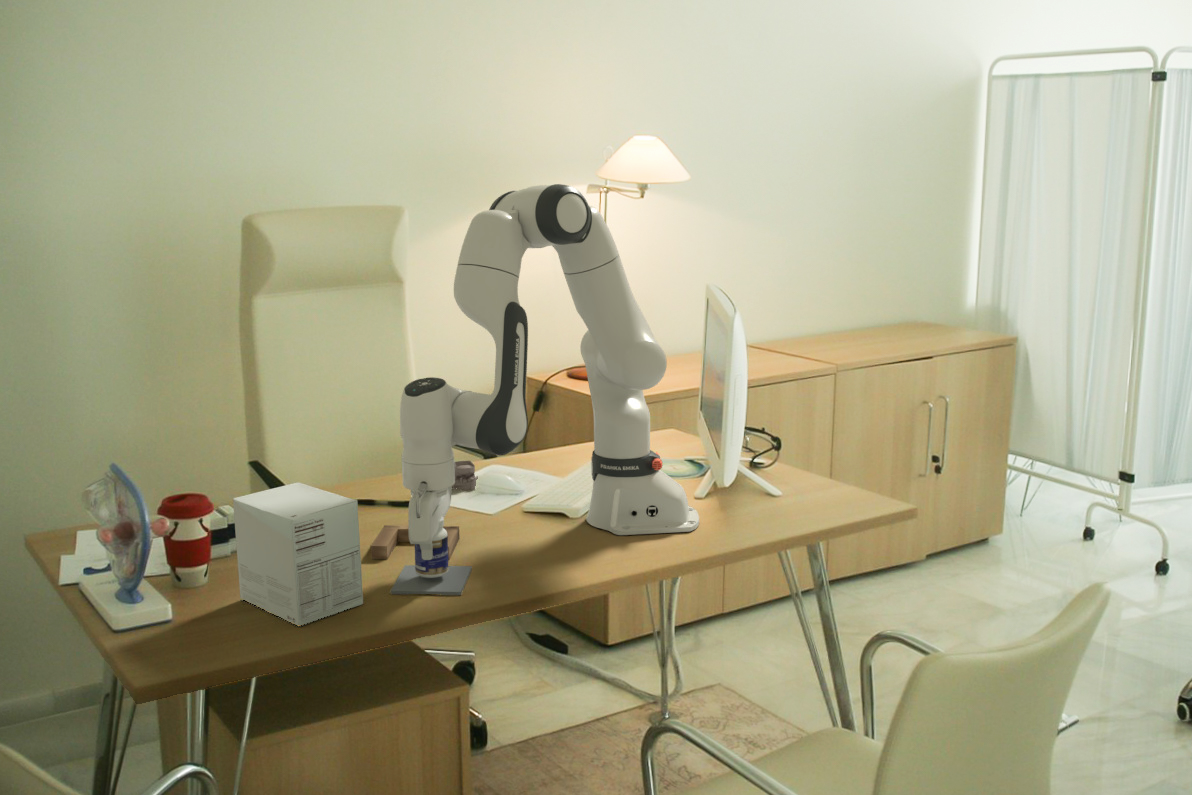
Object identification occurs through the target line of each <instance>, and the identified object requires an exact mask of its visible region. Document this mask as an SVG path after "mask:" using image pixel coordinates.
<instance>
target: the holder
mask: <svg viewBox="0 0 1192 795" xmlns="http://www.w3.org/2000/svg"><path fill="white" fill-rule="evenodd" d="M443 528H444V529H445V530H446V531H447V535H448V561H450V559H451V558H452V556H453V553H454V551H455V550H456V547H457V545H458V542H459V541H460V537H461V536H460V526H459V525H444V526H443ZM398 542H408V543H410V540H409V528H408V525H398V524H397V525H396V524H395V525H391V524H389V525H387V524H385V525H384V526H383V527H382V528H381V530H380V531H379V533H378V534H377V536H376V538H375V539H374V540H373V542H372V543H371V545H370V559H371V560H388V559H389V557H390V556H391V554H392V553H391V552H393V551H394V549H395V548H396V546H397V545H398Z"/></svg>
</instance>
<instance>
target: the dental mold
mask: <svg viewBox="0 0 1192 795" xmlns="http://www.w3.org/2000/svg"><path fill="white" fill-rule="evenodd" d="M475 472H476V466H475V463H473V462H472V460H457V461H455V483H454V485H452V490H461V489H462V491H471V490H474V489H475V486H476V480H477V479H478V477H479V476H478V475H476V474H475ZM475 475H476V476H475ZM456 488H457V489H456ZM474 491H475V490H474Z"/></svg>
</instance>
